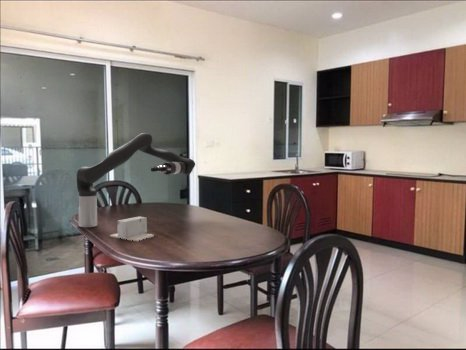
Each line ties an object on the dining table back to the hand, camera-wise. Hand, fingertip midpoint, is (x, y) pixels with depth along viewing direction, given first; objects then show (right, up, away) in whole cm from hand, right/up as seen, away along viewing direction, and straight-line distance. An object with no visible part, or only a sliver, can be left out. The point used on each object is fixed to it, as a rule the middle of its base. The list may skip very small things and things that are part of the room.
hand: (152, 169), depth 211 cm
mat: (-5, -34, -22) cm, 41 cm away
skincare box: (-1, -28, -16) cm, 32 cm away
